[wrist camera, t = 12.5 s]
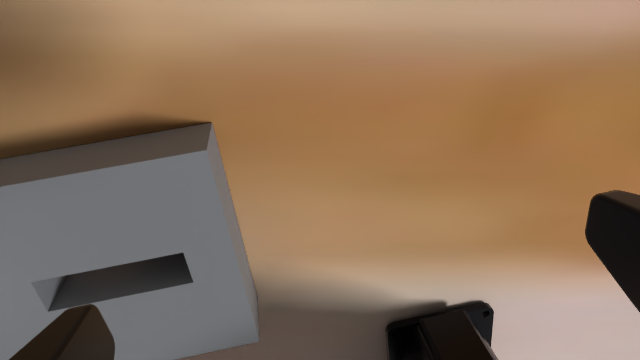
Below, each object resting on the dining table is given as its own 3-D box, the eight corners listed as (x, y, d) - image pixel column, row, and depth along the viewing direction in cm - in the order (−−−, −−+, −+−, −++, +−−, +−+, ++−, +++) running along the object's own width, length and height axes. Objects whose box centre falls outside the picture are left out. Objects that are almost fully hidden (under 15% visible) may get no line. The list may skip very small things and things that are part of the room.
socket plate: (257, 297, 23) (259, 341, 20) (-141, 380, 22) (-195, 439, 19) (211, 122, 18) (206, 150, 16) (-303, 211, 17) (-404, 258, 14)
